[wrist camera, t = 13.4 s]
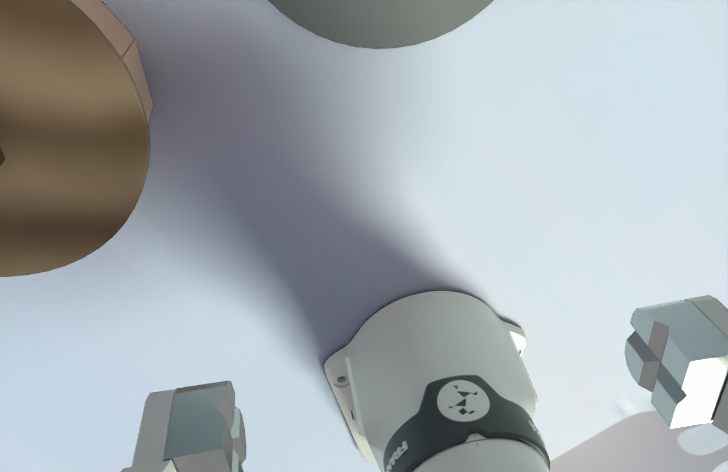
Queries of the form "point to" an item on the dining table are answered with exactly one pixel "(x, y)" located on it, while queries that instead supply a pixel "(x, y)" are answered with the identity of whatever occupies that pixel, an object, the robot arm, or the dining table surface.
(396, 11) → the tray
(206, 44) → the dining table surface
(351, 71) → the dining table surface
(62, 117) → the lid
